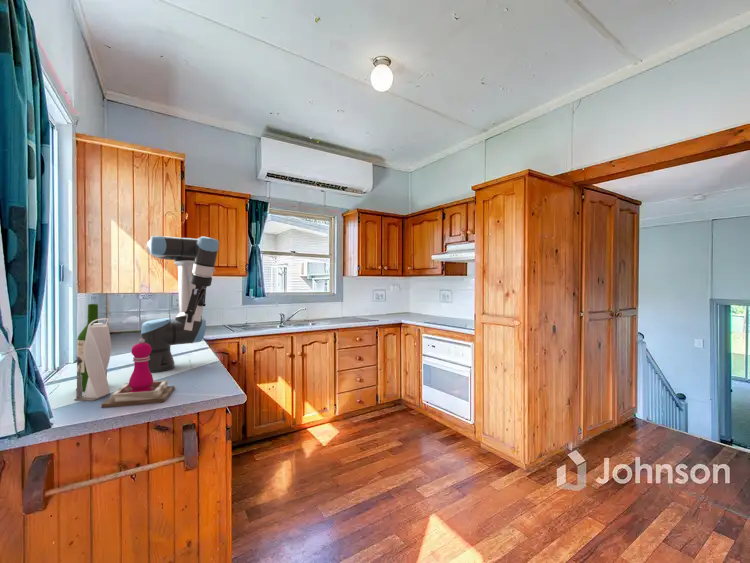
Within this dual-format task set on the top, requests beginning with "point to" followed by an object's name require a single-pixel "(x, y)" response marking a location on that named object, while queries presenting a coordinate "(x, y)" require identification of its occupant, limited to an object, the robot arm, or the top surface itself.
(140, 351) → the pepper mill
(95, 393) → the skyscraper
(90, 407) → the top surface
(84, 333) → the wine bottle
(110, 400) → the stand
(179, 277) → the robot arm
